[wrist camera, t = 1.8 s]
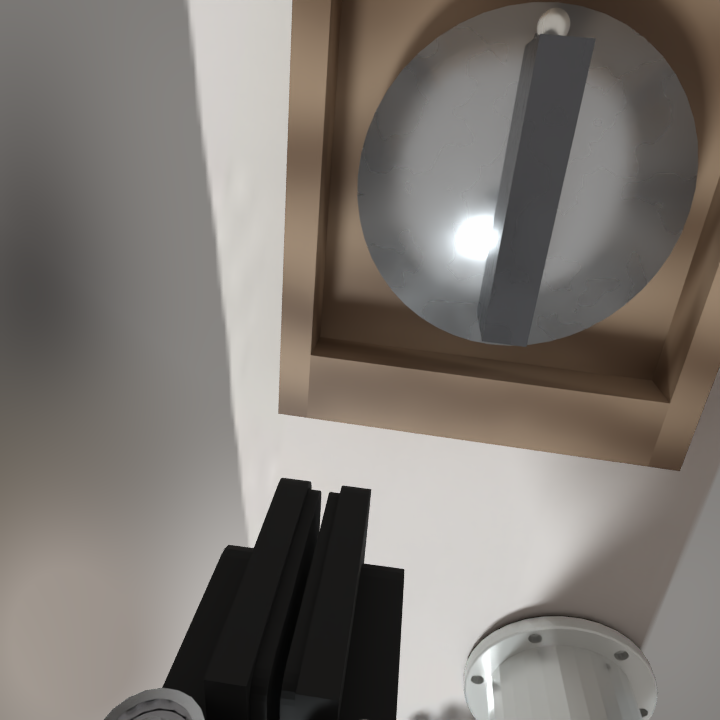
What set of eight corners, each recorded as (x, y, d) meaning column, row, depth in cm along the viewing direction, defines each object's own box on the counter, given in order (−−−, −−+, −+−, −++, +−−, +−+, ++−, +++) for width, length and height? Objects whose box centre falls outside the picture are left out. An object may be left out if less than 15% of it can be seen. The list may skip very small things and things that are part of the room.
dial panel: (652, 429, 32) (681, 473, 28) (293, 379, 33) (274, 414, 29) (839, -115, 22) (924, -163, 18) (317, -147, 23) (293, -197, 20)
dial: (631, 351, 28) (670, 400, 23) (349, 315, 29) (332, 355, 24) (732, 23, 22) (810, 0, 18) (377, -6, 24) (361, -35, 19)
